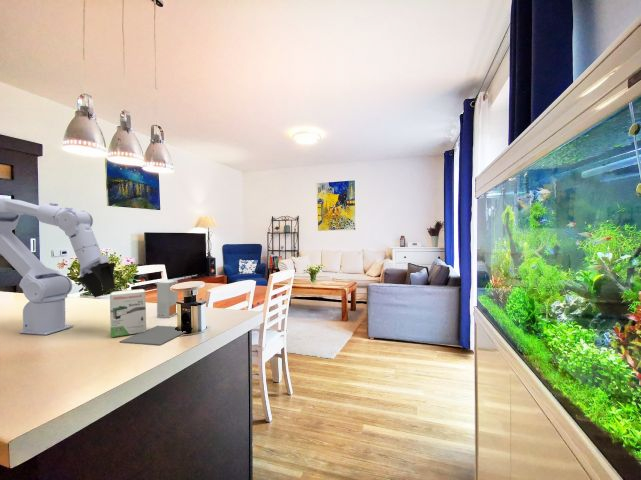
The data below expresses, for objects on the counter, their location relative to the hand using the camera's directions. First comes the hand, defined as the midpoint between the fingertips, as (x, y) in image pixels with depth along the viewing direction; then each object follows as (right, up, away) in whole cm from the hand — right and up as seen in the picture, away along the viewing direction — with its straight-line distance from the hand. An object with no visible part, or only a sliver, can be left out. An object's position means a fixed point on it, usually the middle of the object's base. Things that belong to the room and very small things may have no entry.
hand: (104, 292), depth 87 cm
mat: (+17, -11, -3) cm, 21 cm away
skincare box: (+9, -11, +18) cm, 23 cm away
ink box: (+8, -11, -1) cm, 14 cm away
